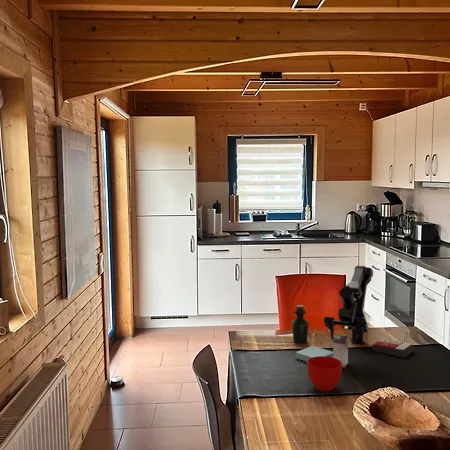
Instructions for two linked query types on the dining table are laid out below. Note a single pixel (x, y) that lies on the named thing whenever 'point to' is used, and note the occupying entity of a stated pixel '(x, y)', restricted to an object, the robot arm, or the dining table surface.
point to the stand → (312, 353)
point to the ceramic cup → (324, 372)
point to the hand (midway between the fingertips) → (342, 341)
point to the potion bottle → (300, 326)
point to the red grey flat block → (393, 347)
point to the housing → (341, 349)
